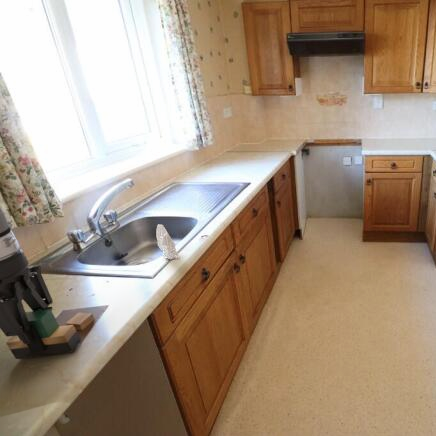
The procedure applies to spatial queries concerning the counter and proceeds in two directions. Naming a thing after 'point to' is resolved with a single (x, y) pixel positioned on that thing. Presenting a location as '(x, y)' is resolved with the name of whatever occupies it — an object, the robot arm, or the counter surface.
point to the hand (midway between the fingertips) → (45, 342)
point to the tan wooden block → (81, 320)
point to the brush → (46, 336)
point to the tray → (69, 314)
